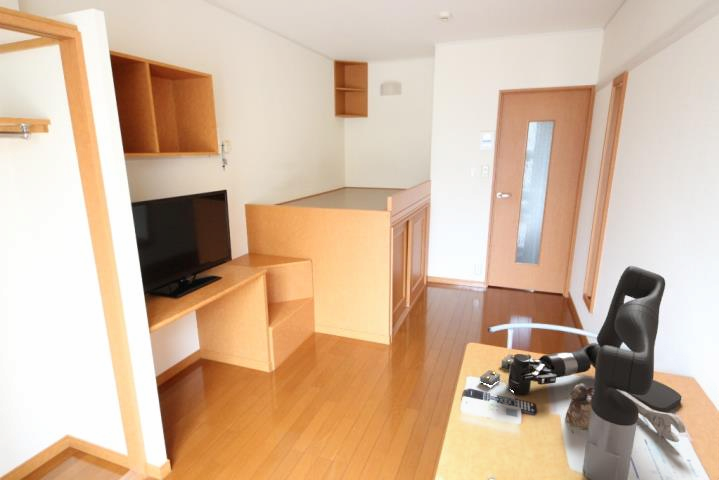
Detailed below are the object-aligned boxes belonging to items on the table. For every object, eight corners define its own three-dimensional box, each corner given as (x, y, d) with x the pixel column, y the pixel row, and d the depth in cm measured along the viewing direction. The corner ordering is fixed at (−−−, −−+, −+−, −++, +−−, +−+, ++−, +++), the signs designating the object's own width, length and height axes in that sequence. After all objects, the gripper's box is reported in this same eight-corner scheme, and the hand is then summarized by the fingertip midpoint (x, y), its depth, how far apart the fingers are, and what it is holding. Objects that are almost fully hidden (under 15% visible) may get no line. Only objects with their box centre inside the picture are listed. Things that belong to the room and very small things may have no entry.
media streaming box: (661, 417, 117) (662, 409, 116) (610, 391, 129) (611, 383, 128) (685, 402, 124) (686, 393, 123) (634, 378, 136) (636, 371, 135)
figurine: (566, 410, 120) (570, 375, 117) (593, 418, 117) (598, 382, 114) (564, 424, 114) (568, 387, 111) (592, 432, 111) (597, 395, 108)
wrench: (603, 393, 133) (684, 450, 103) (598, 394, 133) (678, 451, 103) (604, 370, 132) (686, 421, 102) (599, 371, 132) (680, 422, 102)
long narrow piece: (490, 388, 131) (491, 380, 131) (480, 383, 134) (480, 375, 134) (519, 364, 145) (520, 357, 145) (509, 360, 148) (509, 353, 148)
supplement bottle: (508, 394, 128) (510, 361, 125) (507, 382, 134) (509, 350, 132) (531, 398, 126) (534, 364, 123) (529, 385, 132) (531, 353, 130)
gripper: (544, 344, 138) (502, 351, 134) (575, 366, 124) (529, 374, 120) (542, 363, 139) (500, 370, 136) (573, 387, 126) (527, 395, 122)
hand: (514, 372), depth 128 cm, fingers closed on supplement bottle, 6 cm apart
